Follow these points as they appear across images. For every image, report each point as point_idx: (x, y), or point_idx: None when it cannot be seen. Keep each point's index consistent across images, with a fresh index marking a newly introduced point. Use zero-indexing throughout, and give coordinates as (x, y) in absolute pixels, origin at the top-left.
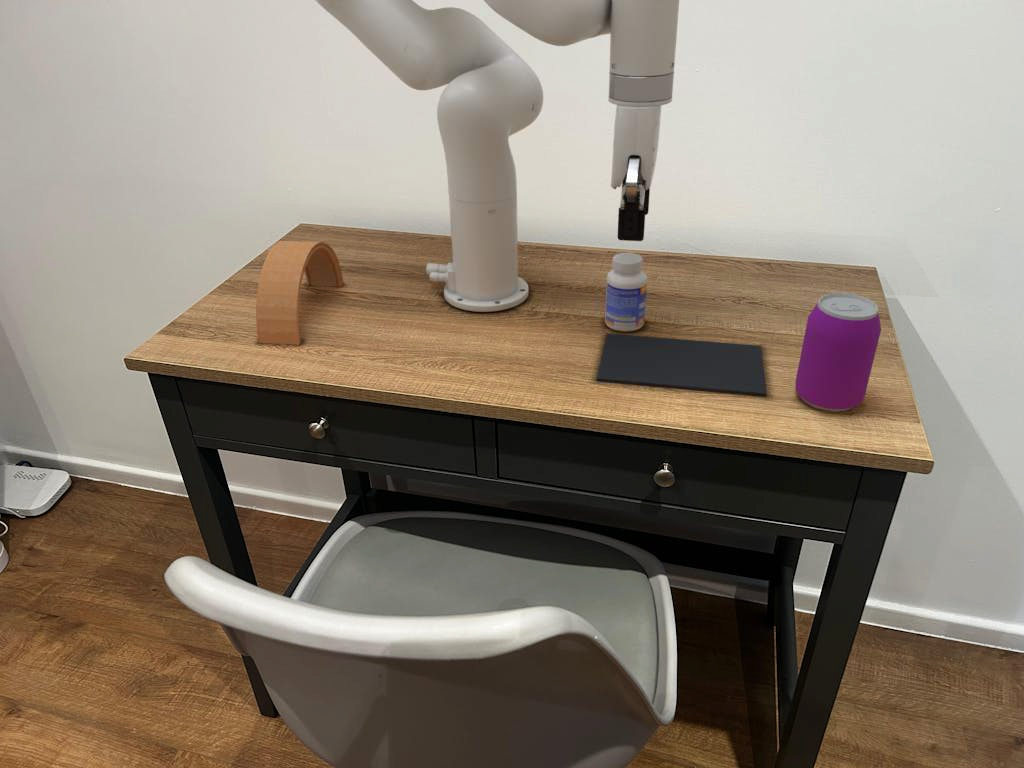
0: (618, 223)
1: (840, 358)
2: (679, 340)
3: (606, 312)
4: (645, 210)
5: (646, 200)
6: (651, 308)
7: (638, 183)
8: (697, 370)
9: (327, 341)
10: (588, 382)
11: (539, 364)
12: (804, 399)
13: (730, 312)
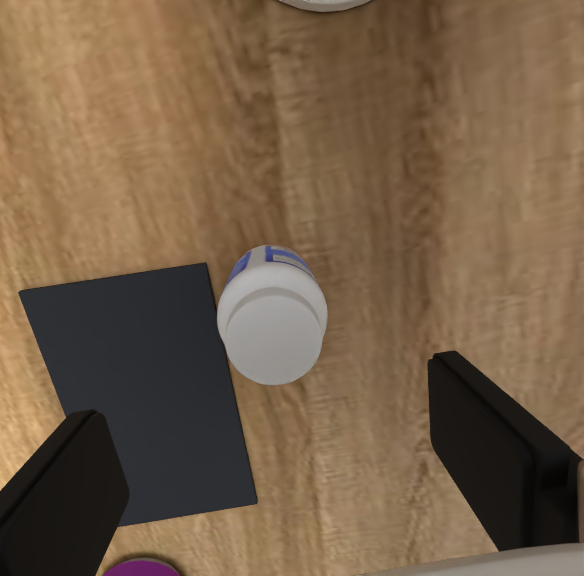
0: (24, 467)
1: None
2: (228, 393)
3: (247, 255)
4: (440, 451)
5: (464, 495)
6: (358, 316)
7: (545, 544)
8: (131, 438)
9: None
10: (9, 277)
11: (24, 160)
12: (103, 574)
13: (377, 443)
